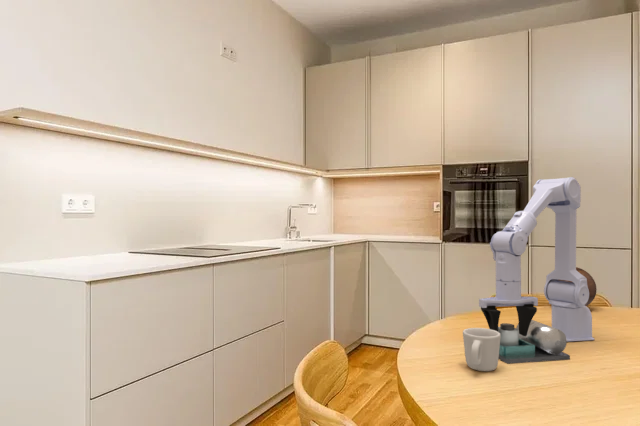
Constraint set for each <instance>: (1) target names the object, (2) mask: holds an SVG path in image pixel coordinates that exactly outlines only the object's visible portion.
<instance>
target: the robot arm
mask: <svg viewBox="0 0 640 426" xmlns="http://www.w3.org/2000/svg"><path fill="white" fill-rule="evenodd" d="M581 188H582V187H581V184H580V183H579V182H578V180H577V178H575V177H573V176H570V177H569V176H568V177H560V178H559V177H558V178H548V179H547V178H546V179H545V178H542V179H541V178H540V179H538V180H536V182H535V184H534V185H533V186H532V193H533V194H532V196H531V198H530V199H529V201H528V203H527V204H526V206H525V207H524V209H523V210H518V211H515V213H514V214H513V216H512V217H511V219H510V220H509V221H508V222H507V224H506V225H505V226H504V227H503V229H502V230H501V231H496V233H494V234H493V235H492V237H491V239H490V242H489V247H490V250H491V252H492V256H493V257H492V258H493V261H495V296H490V297H484V298H478V306H479V307H480V310H481V311H482V314H483V315H484V318H485V320H486V322H487V325H488V329H491V330H495V331H497V332H498V327H499V323H500V316H501V313H502V312H501V310H499V309H498V307H499V308H500V307H501V308H502V307H515V309H516V312H517V319H518V323H519V334H521V335H523V336H527V332H528V329H529V325H530V323H531V320H533V318H534V316H535V315H536V313H537V312H538V308H537V307H536V306H539V298H538V297H536V296H522V267H521V264H522V262H521V261H522V259H521V258H522V257H521V255H523V254H524V253H525V252H526V248H527V243H528V241H529V239H528V237H530V235H531V233H532V232H533V231H534V230H535V228H536V227H537V224H538V223H537V222H538V221H537V218H538V217H539V216H540V214H541V213H543V211H544V210H545V209H546V208H548V209H550V210H552V212H554V214H555V217H554V220H555V223H554V227H555V228H554V236H555V237H554V270H552V271H551V272H549V273H548V274H547V275H546V279H545V284H544V286H543V295H544V297H545V299H546V300H547V301H548V305H551V327H553V328H556V329H558V330H561V331H562V332H563V333H564V334H565V336H566V339H567V343H568V342H581V341H582V342H583V341H585V342H586V341H594V340H595V338H594V336H593V315H592V312H591V309H590V308H589V307H588V306H585V304H586V303H587V302H588V299H589V289H588V286H587V279H586V278H585V277H584V276H583V275H582V274H580V273H579V272H578V271H577V270H576V267H577V210H578V209H580V208H581V200H582V199H581V198H582V197H581V196H582V195H581V192H582V190H581ZM560 280H567V281H560ZM568 281H572V282H568Z"/></svg>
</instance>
